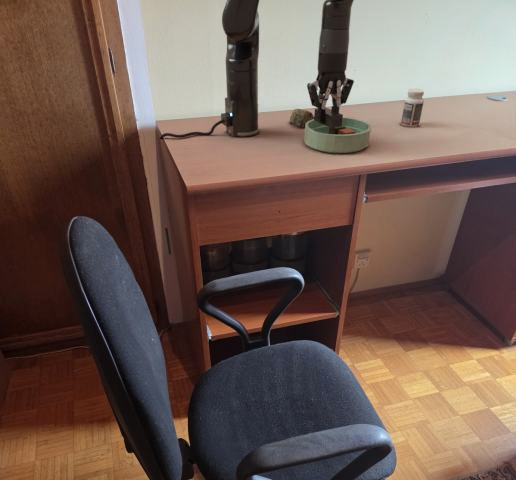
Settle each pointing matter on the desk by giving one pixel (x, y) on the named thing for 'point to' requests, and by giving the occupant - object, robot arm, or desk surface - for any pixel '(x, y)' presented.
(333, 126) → the black rectangular block
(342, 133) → the terracotta block
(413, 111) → the pill bottle
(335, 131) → the walnut block
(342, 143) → the bowl
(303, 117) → the rock
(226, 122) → the robot arm
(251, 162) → the desk surface
